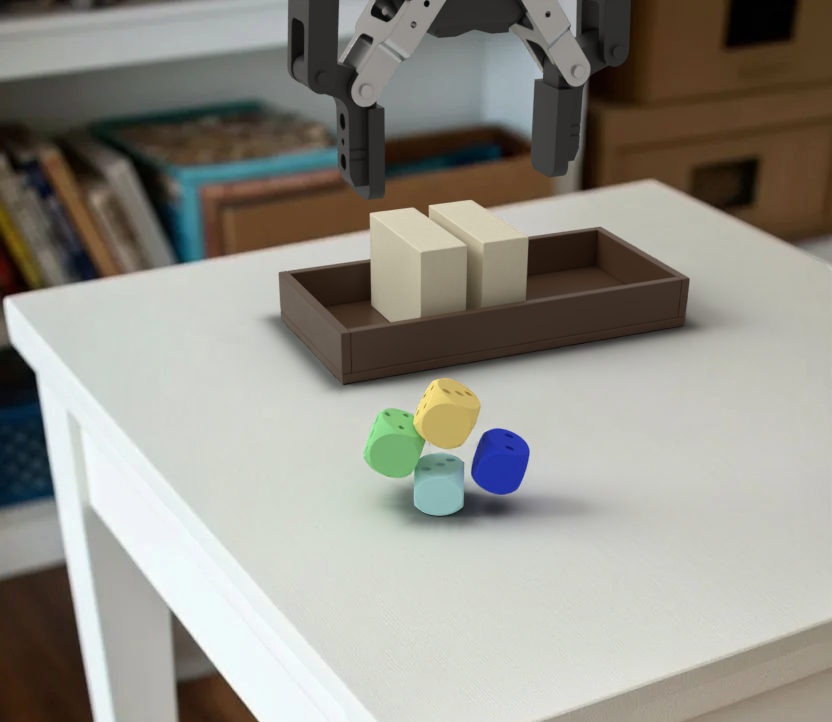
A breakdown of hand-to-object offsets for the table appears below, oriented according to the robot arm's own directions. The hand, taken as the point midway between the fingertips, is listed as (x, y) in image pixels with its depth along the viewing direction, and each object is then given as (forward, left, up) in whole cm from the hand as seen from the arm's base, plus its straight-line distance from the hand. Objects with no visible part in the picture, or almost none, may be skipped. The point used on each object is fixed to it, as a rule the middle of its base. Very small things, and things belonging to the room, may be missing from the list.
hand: (459, 183), depth 59 cm
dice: (0, 0, -16) cm, 16 cm away
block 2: (-11, -21, -15) cm, 29 cm away
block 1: (-7, -21, -15) cm, 27 cm away
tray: (-12, -21, -16) cm, 29 cm away
